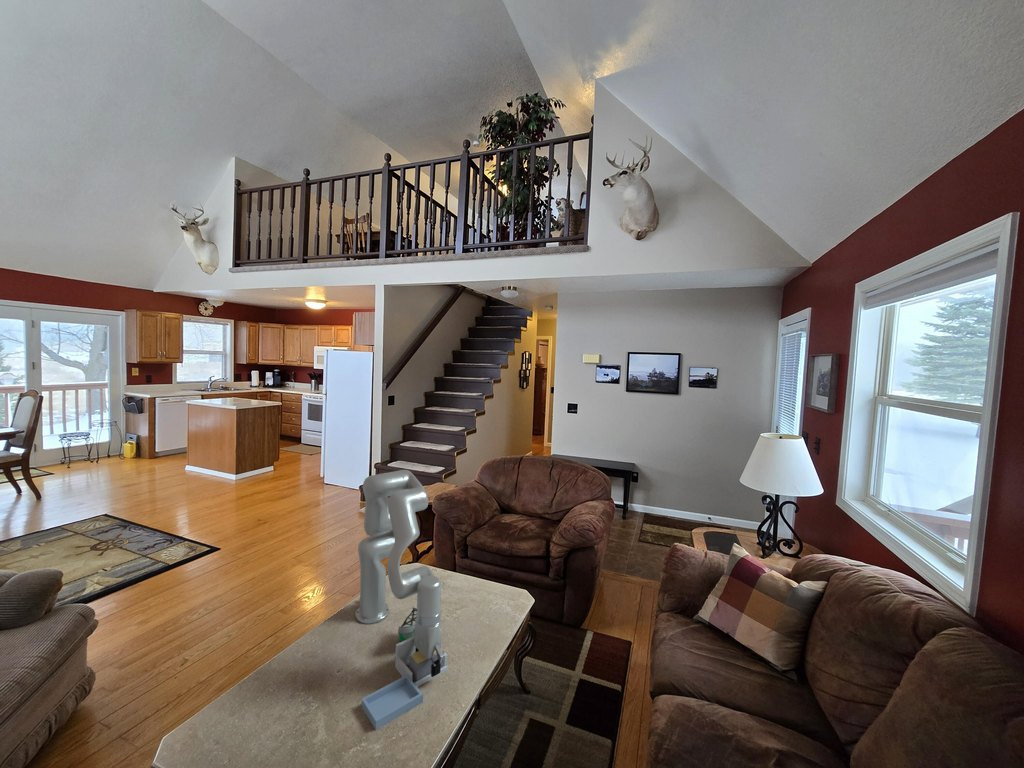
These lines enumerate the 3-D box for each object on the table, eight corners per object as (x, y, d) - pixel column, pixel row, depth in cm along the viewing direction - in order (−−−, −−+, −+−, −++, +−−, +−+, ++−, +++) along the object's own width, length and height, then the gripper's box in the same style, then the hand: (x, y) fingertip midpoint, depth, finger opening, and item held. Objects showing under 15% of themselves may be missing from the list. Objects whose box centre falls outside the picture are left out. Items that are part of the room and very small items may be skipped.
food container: (414, 658, 148) (414, 630, 147) (397, 654, 150) (398, 627, 149) (428, 634, 160) (428, 609, 159) (412, 631, 162) (413, 606, 161)
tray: (361, 706, 128) (361, 698, 128) (406, 682, 138) (407, 674, 138) (375, 730, 121) (376, 721, 120) (422, 702, 131) (423, 694, 130)
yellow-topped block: (408, 674, 141) (409, 654, 140) (435, 660, 148) (436, 641, 147) (416, 684, 137) (417, 663, 137) (443, 669, 144) (444, 649, 143)
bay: (395, 667, 144) (395, 644, 143) (431, 648, 153) (432, 627, 152) (412, 689, 135) (413, 665, 134) (450, 668, 145) (451, 645, 144)
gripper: (405, 608, 144) (404, 656, 146) (432, 635, 132) (431, 687, 133) (425, 599, 149) (424, 646, 151) (453, 625, 137) (452, 676, 138)
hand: (427, 666), depth 142 cm, fingers open, 9 cm apart
